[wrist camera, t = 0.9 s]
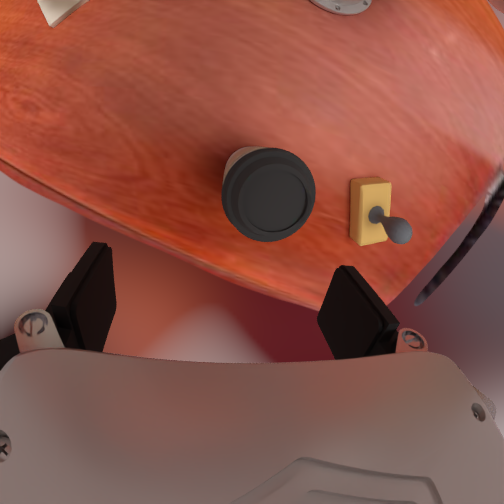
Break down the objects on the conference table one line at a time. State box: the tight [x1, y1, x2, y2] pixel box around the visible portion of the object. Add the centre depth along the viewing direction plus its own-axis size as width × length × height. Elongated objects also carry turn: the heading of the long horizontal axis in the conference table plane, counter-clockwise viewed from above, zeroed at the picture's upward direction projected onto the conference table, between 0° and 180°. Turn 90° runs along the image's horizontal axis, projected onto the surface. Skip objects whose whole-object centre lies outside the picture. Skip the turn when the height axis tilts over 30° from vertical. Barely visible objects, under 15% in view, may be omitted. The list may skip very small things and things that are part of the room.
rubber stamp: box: [350, 177, 412, 246], centre depth 37 cm, size 10×6×12 cm, turn 7°
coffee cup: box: [222, 146, 315, 242], centre depth 30 cm, size 9×9×15 cm
